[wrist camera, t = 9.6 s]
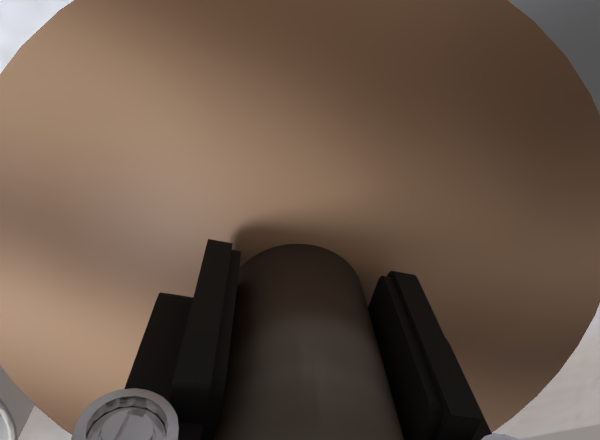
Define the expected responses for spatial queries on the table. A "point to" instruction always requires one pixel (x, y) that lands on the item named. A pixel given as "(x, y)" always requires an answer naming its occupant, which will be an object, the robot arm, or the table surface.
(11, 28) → the table surface
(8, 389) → the teacup
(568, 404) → the table surface
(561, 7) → the mat
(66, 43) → the lid
